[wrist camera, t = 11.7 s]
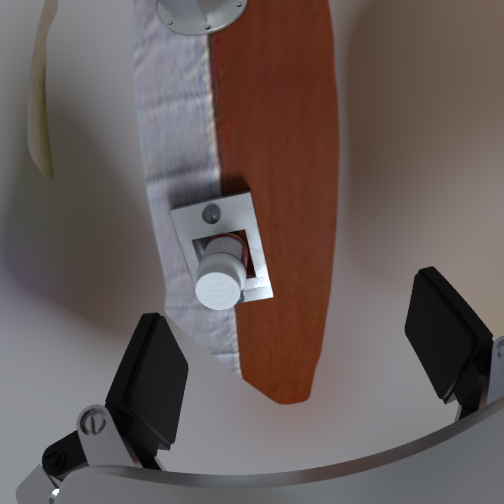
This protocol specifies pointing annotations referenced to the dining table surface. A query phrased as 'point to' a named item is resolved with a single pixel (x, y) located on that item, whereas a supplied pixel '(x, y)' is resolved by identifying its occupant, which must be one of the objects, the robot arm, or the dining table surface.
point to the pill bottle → (222, 271)
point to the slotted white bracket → (222, 221)
